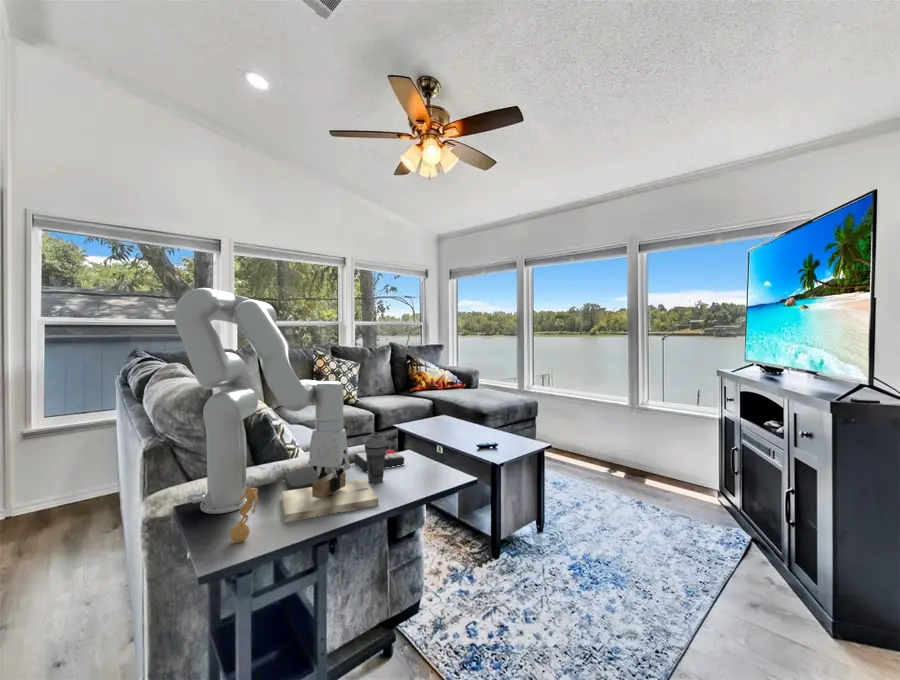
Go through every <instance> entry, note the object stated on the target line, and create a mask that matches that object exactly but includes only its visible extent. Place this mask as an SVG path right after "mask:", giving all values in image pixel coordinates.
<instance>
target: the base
mask: <svg viewBox="0 0 900 680" xmlns="http://www.w3.org/2000/svg"><path fill="white" fill-rule="evenodd" d="M281 500H282V501H281V502H282V507H283V508H284V509H283V508H282V509H283V516H285V517H284V522H285V523H289V522H290V521H291V522H295V521H300V520H305V519H306V518H307V519H312V518H311V517H313V518H317V517H316V516H318V517H321V516H320V515H323V516H327V515H326V514H329V515H333V514H332V513H334V514H338V513H337V512H340V513H344V512H343V511H345V512H349V511H348V510H351V511H354V510H353V509H356V510H360V508H362V509H366V508H365V507H367V508H372V507H377V506H379V497H378V495H377V494H376V493H375V492H374V490H373V488H372V487H371V485H370V483H369V482H368V481H367V480H366V479H365V478H364V479H363V478H362V479H356V480H351V481H350V480H349V481H345V487H343V488H341V489H339V490H337V491H335V492H334V495H332V496H325V497H323V498H321V499H320V498H316V497H312V487H309V488H302V489H296V490H289V489H288V490H284V491H282V492H281Z"/></svg>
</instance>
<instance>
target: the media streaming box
mask: <svg viewBox="0 0 900 680" xmlns="http://www.w3.org/2000/svg"><path fill="white" fill-rule="evenodd" d="M316 473H317V472H316V471H315V470H314V468H313V467H312V466H310V467H304V468H299V469H295V470H291V471H290V472H287V473H286V474H285V475H284V483H285V486H286V487H287V489H288V491H289V490H296V489H302V488H309V487H312V482H314V481H316V480H318V476H317V474H316ZM326 473H327V474H328V475H329V474H332V473H333V471H332V468H326Z"/></svg>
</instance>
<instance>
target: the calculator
mask: <svg viewBox="0 0 900 680" xmlns="http://www.w3.org/2000/svg"><path fill="white" fill-rule="evenodd" d="M402 464H404V465H405V457H404V455H402V454H400V453H399V452H397V451H395V450H394V449H386V452H385V463H384V469H387V468H386V467H390V468H393V467H392V466H396V467H398V466H397V465H401V466H403V465H402ZM354 465H356V466H357V465H358V466H359V467H360V468H361V469H362V470H361V469H360V468H359V467H358V466H357V467H358V468H359V469H360V470H361V471H363V473H368V472H367V458H366V452H358V453H356V454H354Z"/></svg>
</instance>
